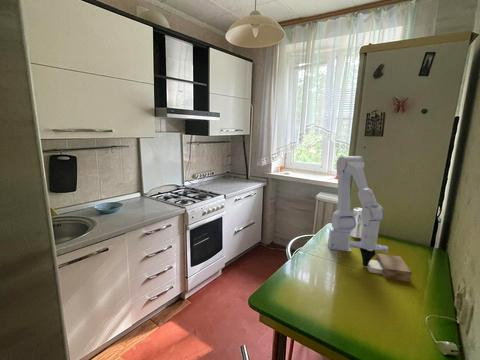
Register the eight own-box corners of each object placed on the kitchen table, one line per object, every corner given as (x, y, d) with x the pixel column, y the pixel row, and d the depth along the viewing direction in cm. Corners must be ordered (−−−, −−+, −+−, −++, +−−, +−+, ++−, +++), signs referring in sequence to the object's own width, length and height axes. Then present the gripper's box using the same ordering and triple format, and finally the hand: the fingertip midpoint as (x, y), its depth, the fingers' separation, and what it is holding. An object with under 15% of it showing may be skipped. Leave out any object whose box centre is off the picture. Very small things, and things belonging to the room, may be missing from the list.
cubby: (383, 277, 97) (385, 268, 97) (375, 261, 109) (376, 253, 108) (409, 281, 95) (411, 272, 95) (398, 265, 107) (400, 256, 106)
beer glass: (348, 236, 133) (352, 210, 130) (349, 232, 139) (353, 206, 136) (363, 240, 130) (367, 212, 126) (363, 235, 136) (367, 208, 132)
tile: (369, 272, 101) (370, 267, 101) (365, 263, 108) (365, 259, 107) (402, 277, 98) (403, 272, 98) (396, 267, 105) (397, 263, 105)
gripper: (352, 236, 99) (347, 267, 102) (392, 241, 96) (387, 273, 99) (349, 229, 106) (345, 258, 109) (386, 234, 103) (381, 264, 106)
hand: (364, 265), depth 104 cm, fingers closed
